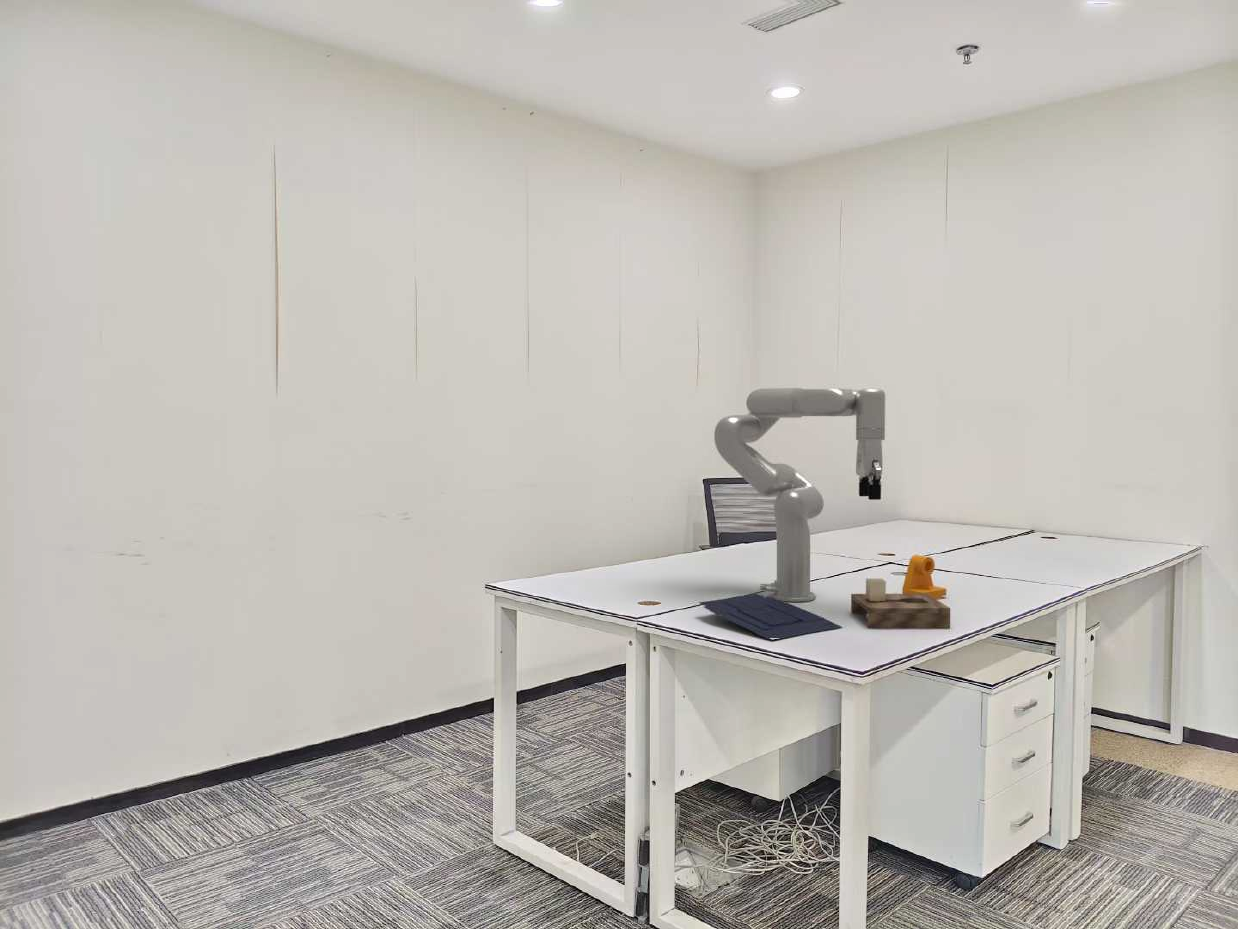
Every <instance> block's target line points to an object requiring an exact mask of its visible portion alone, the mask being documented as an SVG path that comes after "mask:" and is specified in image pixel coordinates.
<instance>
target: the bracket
mask: <svg viewBox="0 0 1238 929" xmlns="http://www.w3.org/2000/svg"><path fill="white" fill-rule="evenodd" d="M934 571H935V560H934V559H933V557H930V556H926V555H925V556H923V555H920V554H919V555H918V554H915V555H913V556H911V558H910V560H909V562H908V566H907V570H906V574H905V576H904V582H903V585H902V589H901V590H902V593H901V594H928V595H929V596H931V597H933V598H934V599H936V600H938V601H939V600H941V599H943V597H944V596H945V597H946V596H947V588H946V587H941V586H935V585H934V583H933V582H934V581H933V579H932V574H933V573H934Z"/></svg>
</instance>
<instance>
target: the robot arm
mask: <svg viewBox="0 0 1238 929" xmlns="http://www.w3.org/2000/svg"><path fill="white" fill-rule="evenodd" d="M745 403H746V404H745V405H746V408H747V410H748V413H747V414H744V415H743V414H733V415H728V416H725V417H723V418H721V419H720V420H719V421H718V422H717V423H716V426H715V429H714V435H713V436H714V437H713V438H714V443H715V448H716V450H717V452H718V453H719V455H720V457H721V458H722V460H724V461H725V462H726V463H727V464H728V465H729V466H731V468H733V469H734V470H735V471H736V473H738V475H740V476H741V478H742V479H744V480H745V481H746V482H747V483H748V484H749V485H750V486H751V487H752V488H753V490H755V491H756V492H757V493H758V494H759V495H762V496H763V497H771V498H772V497H775V500H774V504H773V514H774V515H773V516H774V520H775V528H776V529H775V530H776V580H775V579H774V580H773V581H774V582H771V583H760V585H759V589H760V591H766V592H771V594H770V597H771V598H773V599H776V600H780V601H783V602H790V603H791V602H792V603H793V602H794V603H795V602H798V603H801V602H810V601H813V600H815V599H816V597H817V596H816V593H814V592H813V591H811V533H810V532H811V531H810V527H809V524H808V520H811V519H814V518H816V517H817V516H819V515H820V514H821V513H822V511H823V509H824V504H825V503H824V499H823V496H822V494H821V492H820V491H819V490H818V489H817V488H816V487H815V486H814V485H813V484H812V483H811V482H809V480H808V479H806V478H805V477H804V476H803V475H802V474H801V473H799V471H797V470H796V469H795V468H794V467H792V466H791V465H789V464H786V463H772V462H770V461H768V460H767V459H766V458H765V457H764V456H763V455H762V454H761V453H759V451H757V449H755V448H753V447H751V446H750V445H748V444H750V443H751V444H752V443H754V442H757V441H758V440H760V439H761V438H762V437H763V436H765V434H766V433H768V432H769V430H770V429H771V428H772V427H773V426H774V425H776V423H777V422H778V421H779V420H780V419H781V418H782V419H783V418H786V419H789V418H790V419H791V418H795V419H799V418H802V417H854V416H855V419H856V420H855V421H856V422H855V440H856V441H857V448H856V456H855V457H856V460H855V462H856V463H855V474H856V475H857V476H859V477H858V496H859V497H868V500H870V501H871V500H873V501H874V500H875V501H877V500H879V501H880V500H881V499H882V480H881V479H882V474H883V444H882V441H886V439H885V438H886V433H885V432H886V393H885V391H884V390H883V389H879V388H867V389H866V388H865V389H859V390H857V389H851V388H849V389H848V388H802V387H786V388H785V387H779V388H774V387H773V388H771V387H770V388H758V389H755V390H753V391H751V392H750V393H749V394H748V396H747V398H746V402H745Z"/></svg>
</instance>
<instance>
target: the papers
mask: <svg viewBox="0 0 1238 929" xmlns="http://www.w3.org/2000/svg"><path fill="white" fill-rule="evenodd" d="M698 603H699V604H700V605H702V606H703V608H704V609H706V610H708V611H709V612H711V613H713V614H714V615H717V616H720V617H722V618H724V619H726V620H729V621H730V622H733V623H735V624H737V625H739V626H741V627H742V628H745V629H747V630H750V631H751V632H753V633H755V634H757V635H759V636H761V637H763V638H765V639H767V640H769V639H770V638H782V639H786V638H790V637H795V636H796V637H797V636H801V635H804V634H810V633H815V632H816V633H817V632H822V631H823V632H824V631H827V630H828V631H829V630H835V629H839V628H842V626H841V625H839V624H837V623H835V622H833V621H831V620H829V619H827V618H824V617H823V616H820V615H818V614H815V613H813V612H810V611H807V610H806V609H803V608H801V607H798V606H796V605H794V604H791V603H789V602H786V601H781V600H776V599H774V598H772V597H771V596H763V595H761V594H758V593H752V594H746V595H741V596H733V597H727V598H722V599H721V598H720V599H719V598H718V599H715V600H707V601H700V602H698Z"/></svg>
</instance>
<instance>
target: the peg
mask: <svg viewBox="0 0 1238 929" xmlns="http://www.w3.org/2000/svg"><path fill="white" fill-rule="evenodd" d="M886 583H887V582H886V580H884V579H883V578H865V594H866V598H867V599H868V600H869V601H872V602H880V601H886V594H887V593H886V588H887V587H886V586H887V584H886ZM866 621H868V613H866Z"/></svg>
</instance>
